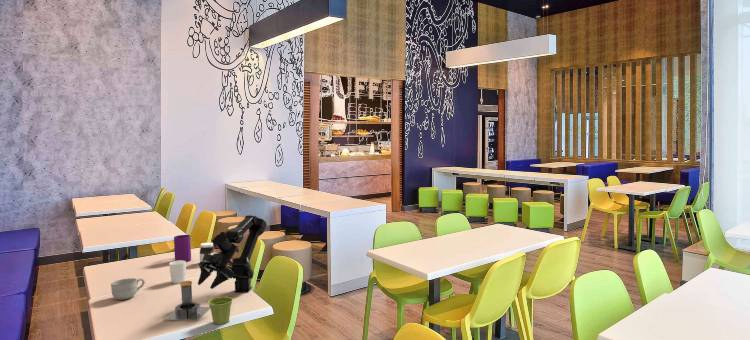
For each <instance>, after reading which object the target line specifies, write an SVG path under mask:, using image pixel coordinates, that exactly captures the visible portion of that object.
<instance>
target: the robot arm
mask: <svg viewBox="0 0 750 340" xmlns="http://www.w3.org/2000/svg"><path fill="white" fill-rule="evenodd" d="M267 226H268V225H267V222H266V220H265V219H263V218H260V217H257V216H256V215H253V214H252V215H245V216H244V218H243V220H241V221H240V222H239V223H238V224H237V225H236V226H235V227H233V228H230V229H228V230H227V231H220V232H219V234H217V235H216V236H215V237H214V238H213V242H212V243H213V245H215V246H216V247H217V249H218V250H219V252H218V253H217V254H215V253H216V252H215V253H214V254H213V255H210V254H206V253H205V254H204V257H203V261H201V262H200V261H199V263H198V266H199V267H198V268H199V269H200V274H199V278H198V281H197V285H198V286H200V285H202V284H203V283H204V282H205V281H206V280H207V279H208V278H209V277H210V276H211V275H212V273H213V272H216V275H215V278H214V280H213V282H212V283H211V285H210V286H209V288H210V289H211V290H213V289H215V288H216V287H217V286H219V285H221V284H222V283H225V282H226V281H227V280H230V279H231V280H232V279H235V281H234V293H249V292H250V291H251V290H252V288H253V287H252V286H251V285H252V284H251V283H252V281H251V279H253V278H254V275H255V274H254V271H253V269H252V265H251V262H250V261H251V258H252V255H253V253H254V250H255V248H256V245H257V242H258V239H259V237H260V236H261V235H262V234H264V232H265V230H266V228H267ZM247 232H249V233H248V235H247V238H246V241H245V243H244V246H243V248H242V251H241V253H240V255H239V257H235V258H234V259H233V263H232V261H231V259H232V258H233V257H234V255H235V253H237V254H238V253H239V252H240V251H239V246H238V245H235V244H240V243H241V242H242V241H243V240H244V235H245V233H247ZM206 261H207V262H206ZM231 263H232V264H231ZM228 264H231V265H232V266H231V268H229V267H228Z"/></svg>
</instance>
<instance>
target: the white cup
mask: <svg viewBox="0 0 750 340" xmlns="http://www.w3.org/2000/svg"><path fill="white" fill-rule="evenodd" d="M168 266H169V273H170V282H171V283H172V284H180V283H181V282H183V281H187V278H186V277H187V276H186V275H187V262H186V261H183V260H179V261H175V260H174V261H170V262H169V264H168Z"/></svg>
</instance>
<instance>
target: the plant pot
mask: <svg viewBox="0 0 750 340" xmlns="http://www.w3.org/2000/svg"><path fill="white" fill-rule="evenodd" d="M233 301H234V299H233V297H230V296H218V297H214V298H211V299H209V300H208V301H207V304H208V305H209V306H208V307H210V312H211V317H212V322H213V324H214V325H216V324H217V325H224V324H227V323H228V322H230V318H231V306H232V302H233Z"/></svg>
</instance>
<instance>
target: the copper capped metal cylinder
mask: <svg viewBox="0 0 750 340" xmlns="http://www.w3.org/2000/svg"><path fill="white" fill-rule="evenodd" d="M192 283H193V282H192V280H186V281H183V282H181V283H179V284H180V290H181V304H182V308H183V309H188V308H192V307H193V302H194V301H193V290H192V289H193V288H192V287H193V286H192V285H193V284H192Z"/></svg>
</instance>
